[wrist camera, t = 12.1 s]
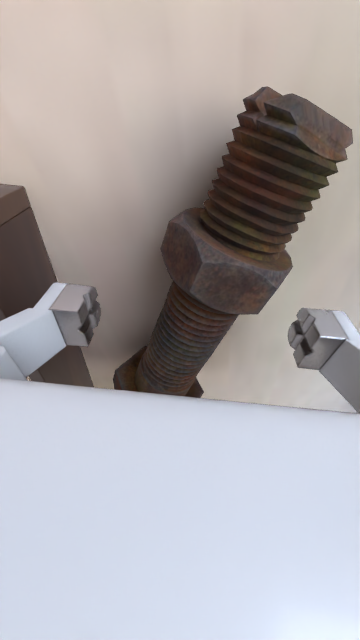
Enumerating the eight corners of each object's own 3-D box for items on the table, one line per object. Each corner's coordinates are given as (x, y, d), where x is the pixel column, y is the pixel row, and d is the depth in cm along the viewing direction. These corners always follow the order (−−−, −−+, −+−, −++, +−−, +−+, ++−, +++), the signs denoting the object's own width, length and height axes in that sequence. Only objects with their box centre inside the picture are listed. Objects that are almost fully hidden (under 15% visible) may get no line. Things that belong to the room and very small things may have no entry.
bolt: (288, 118, 9) (170, 352, 19) (177, 50, 6) (106, 364, 16) (448, 173, 6) (205, 422, 15) (355, 82, 3) (132, 452, 13)
